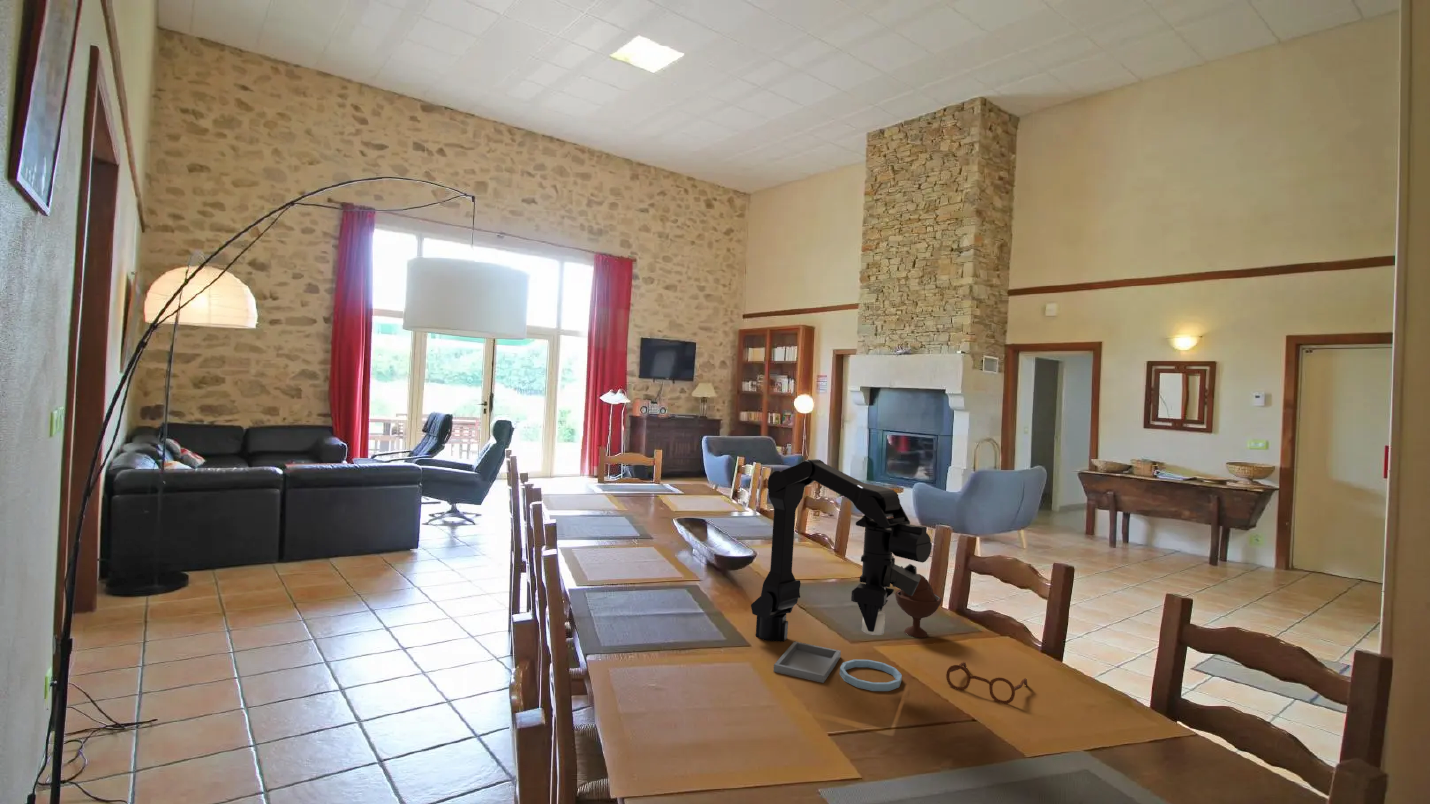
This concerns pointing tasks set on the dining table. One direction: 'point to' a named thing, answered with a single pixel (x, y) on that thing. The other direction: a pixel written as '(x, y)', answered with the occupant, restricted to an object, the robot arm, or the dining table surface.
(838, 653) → the parts tray
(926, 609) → the ice cream bowl
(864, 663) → the blue ring
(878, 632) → the white marshmallow
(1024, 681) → the glasses
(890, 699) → the dining table surface
